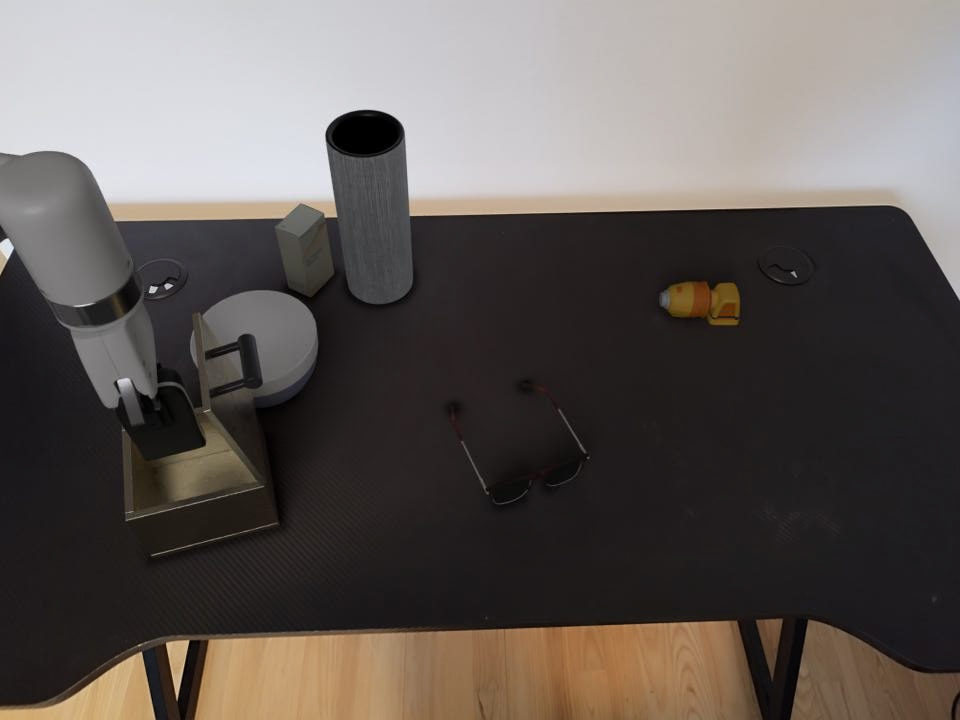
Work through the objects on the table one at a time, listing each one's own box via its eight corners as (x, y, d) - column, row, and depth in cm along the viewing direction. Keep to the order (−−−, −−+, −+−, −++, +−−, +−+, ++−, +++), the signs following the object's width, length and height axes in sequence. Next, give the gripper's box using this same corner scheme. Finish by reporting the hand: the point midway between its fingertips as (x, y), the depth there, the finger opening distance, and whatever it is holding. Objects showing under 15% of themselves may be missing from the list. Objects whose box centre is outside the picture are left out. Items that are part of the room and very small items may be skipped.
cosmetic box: (311, 298, 118) (298, 239, 109) (287, 287, 120) (272, 227, 110) (335, 272, 122) (325, 212, 112) (312, 262, 123) (300, 201, 114)
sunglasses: (486, 512, 98) (486, 490, 94) (440, 415, 107) (439, 392, 104) (586, 476, 101) (590, 454, 97) (533, 386, 111) (535, 362, 107)
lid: (202, 412, 75) (258, 394, 75) (191, 313, 82) (241, 298, 83) (260, 485, 88) (307, 469, 88) (246, 394, 95) (289, 380, 95)
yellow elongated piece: (659, 325, 117) (740, 326, 117) (666, 300, 113) (750, 301, 113) (654, 298, 120) (733, 299, 121) (661, 273, 116) (743, 273, 116)
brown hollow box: (152, 559, 93) (125, 520, 85) (147, 467, 100) (121, 424, 92) (280, 526, 96) (264, 486, 88) (265, 439, 103) (250, 395, 95)
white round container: (265, 449, 102) (250, 407, 95) (183, 387, 108) (163, 343, 100) (350, 372, 110) (342, 327, 103) (269, 318, 116) (256, 272, 108)
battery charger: (205, 420, 89) (177, 357, 80) (209, 447, 87) (181, 386, 78) (141, 436, 88) (105, 374, 79) (143, 464, 86) (107, 404, 77)
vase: (336, 295, 119) (311, 146, 98) (363, 251, 125) (344, 101, 104) (398, 312, 117) (386, 164, 96) (422, 266, 123) (416, 117, 102)
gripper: (49, 231, 72) (117, 355, 87) (45, 372, 62) (122, 486, 77) (135, 216, 74) (187, 341, 88) (144, 352, 64) (201, 467, 78)
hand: (156, 407), depth 82 cm, fingers closed on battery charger, 4 cm apart
